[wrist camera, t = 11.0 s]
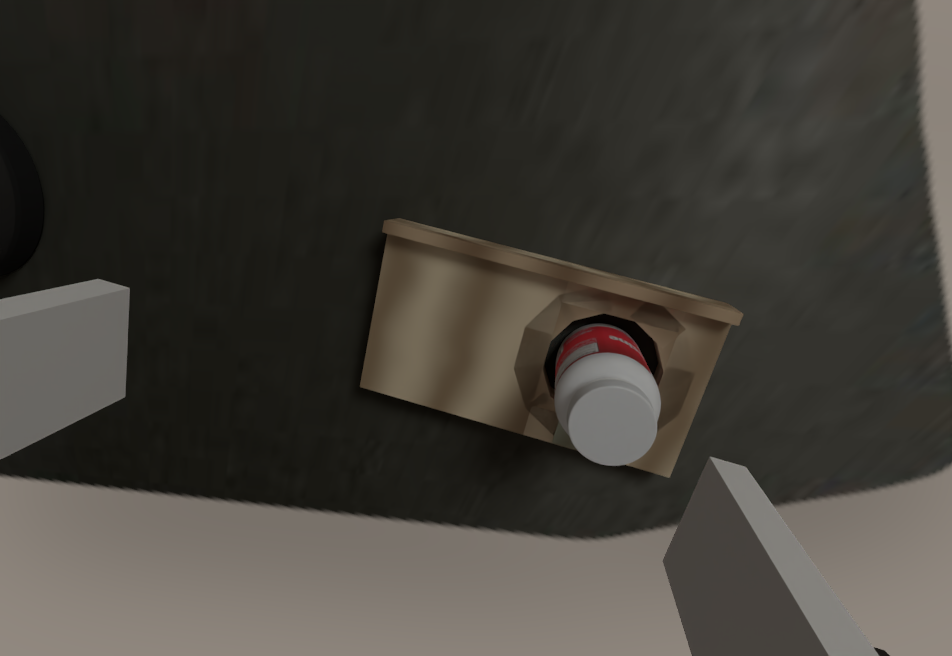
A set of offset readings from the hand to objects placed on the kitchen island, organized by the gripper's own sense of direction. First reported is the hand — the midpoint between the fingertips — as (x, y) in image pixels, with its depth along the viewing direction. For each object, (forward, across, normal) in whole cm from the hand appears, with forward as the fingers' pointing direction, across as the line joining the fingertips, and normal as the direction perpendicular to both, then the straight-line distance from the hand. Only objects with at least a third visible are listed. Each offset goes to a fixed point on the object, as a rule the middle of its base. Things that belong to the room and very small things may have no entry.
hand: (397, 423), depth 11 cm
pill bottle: (+27, +9, -6) cm, 29 cm away
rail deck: (+26, +4, -6) cm, 27 cm away
